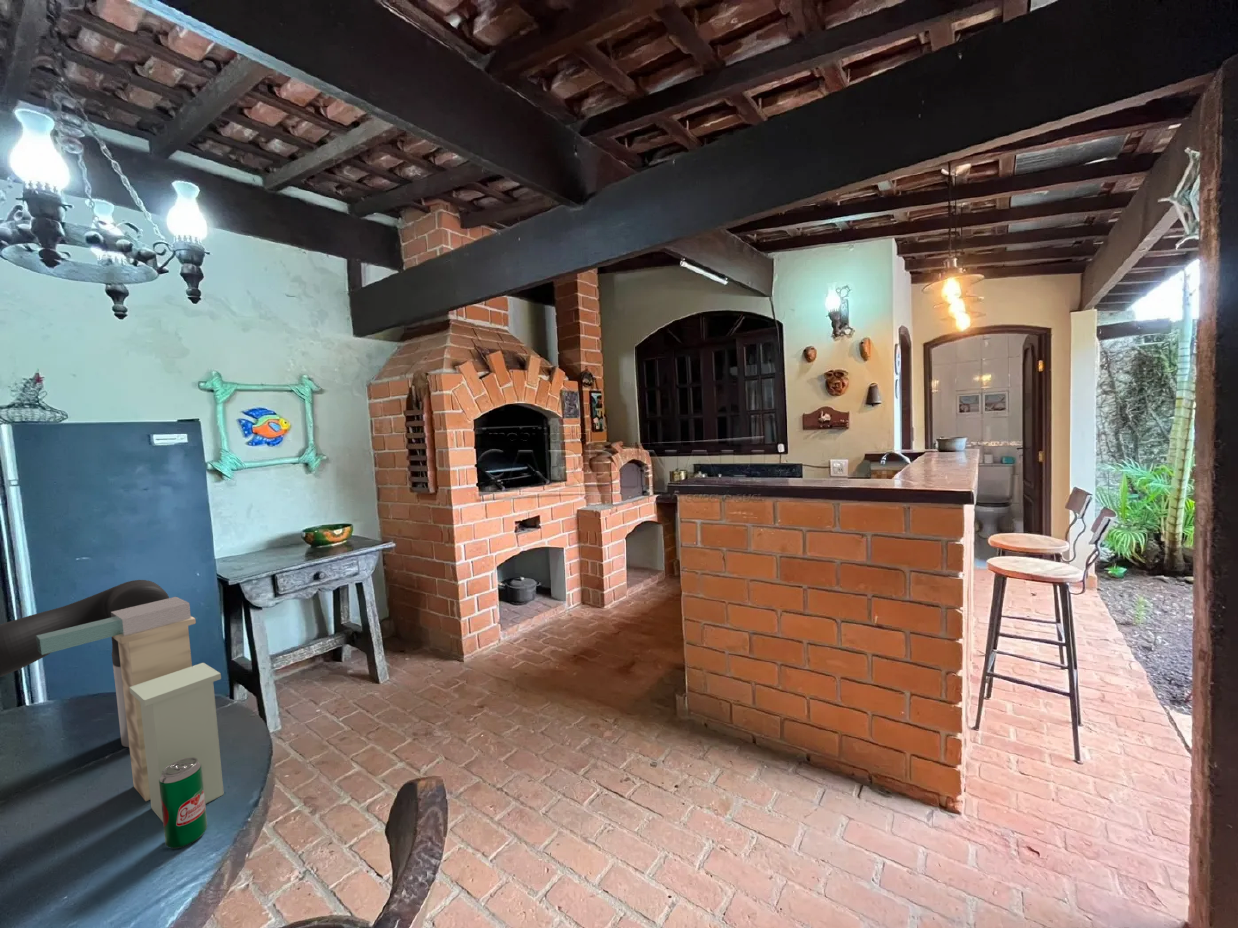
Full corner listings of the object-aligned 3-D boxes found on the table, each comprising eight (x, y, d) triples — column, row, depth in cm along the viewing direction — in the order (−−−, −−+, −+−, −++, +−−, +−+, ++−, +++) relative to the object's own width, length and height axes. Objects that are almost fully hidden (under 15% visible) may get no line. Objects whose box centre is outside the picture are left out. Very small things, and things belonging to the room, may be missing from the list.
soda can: (183, 853, 76) (175, 778, 76) (157, 848, 77) (149, 775, 77) (215, 827, 81) (209, 757, 80) (190, 822, 82) (183, 753, 81)
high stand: (125, 788, 91) (107, 628, 89) (194, 757, 99) (179, 610, 97) (139, 805, 87) (120, 638, 84) (210, 771, 95) (195, 618, 93)
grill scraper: (35, 647, 81) (33, 629, 81) (177, 611, 96) (176, 596, 96) (44, 657, 77) (42, 639, 77) (190, 618, 92) (189, 602, 92)
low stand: (142, 810, 85) (129, 686, 84) (214, 775, 94) (203, 662, 92) (158, 830, 81) (144, 700, 79) (231, 791, 89) (220, 673, 88)
